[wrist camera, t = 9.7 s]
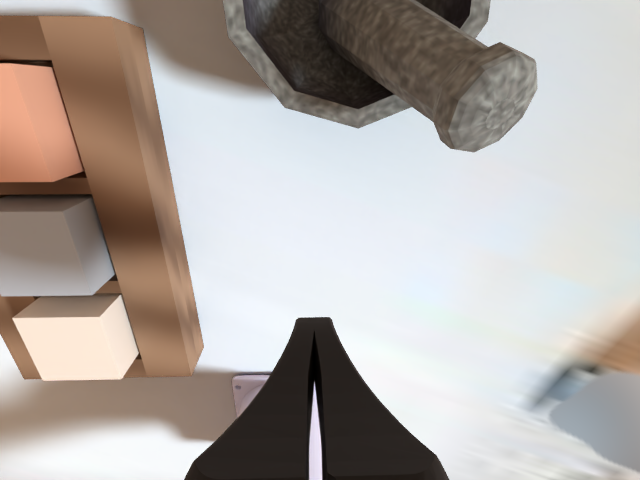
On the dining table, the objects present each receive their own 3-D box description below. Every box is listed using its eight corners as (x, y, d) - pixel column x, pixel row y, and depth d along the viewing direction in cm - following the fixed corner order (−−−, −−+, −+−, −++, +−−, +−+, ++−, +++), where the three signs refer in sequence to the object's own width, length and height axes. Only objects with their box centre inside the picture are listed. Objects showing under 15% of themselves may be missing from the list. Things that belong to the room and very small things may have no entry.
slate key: (124, 265, 21) (92, 295, 18) (47, 265, 21) (1, 296, 18) (103, 191, 19) (62, 211, 16) (18, 192, 19) (-40, 212, 16)
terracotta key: (96, 166, 19) (52, 182, 15) (8, 166, 19) (-55, 182, 15) (68, 68, 17) (11, 63, 13) (-32, 68, 16) (-114, 62, 13)
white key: (146, 341, 24) (121, 379, 21) (78, 342, 24) (42, 380, 21) (130, 284, 22) (99, 316, 19) (55, 285, 22) (12, 318, 19)
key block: (203, 346, 26) (191, 376, 24) (54, 349, 26) (24, 379, 23) (142, 28, 17) (110, 16, 14) (-90, 26, 17) (-167, 14, 14)
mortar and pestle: (211, -3, 17) (24, -180, 6) (356, -164, 14) (497, -953, 4) (342, 165, 21) (378, 249, 10) (474, 60, 18) (718, 12, 7)
